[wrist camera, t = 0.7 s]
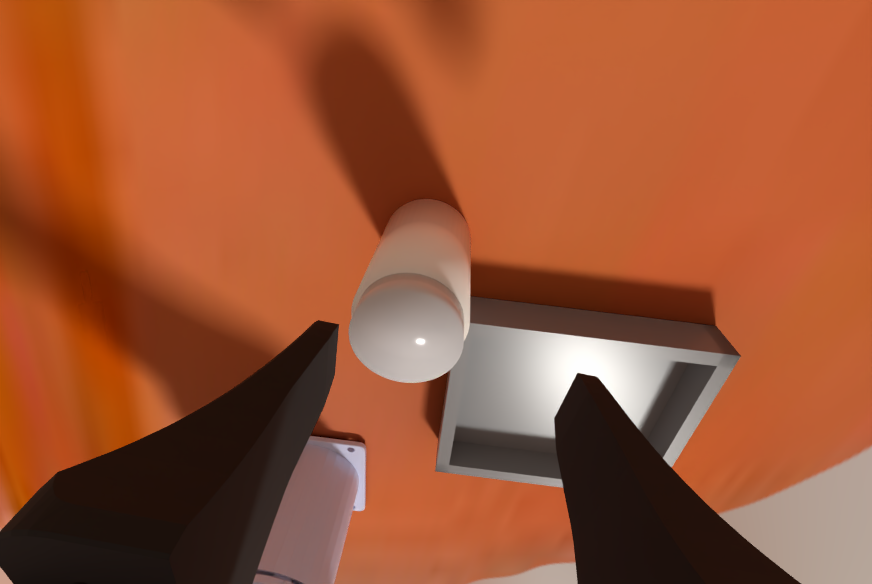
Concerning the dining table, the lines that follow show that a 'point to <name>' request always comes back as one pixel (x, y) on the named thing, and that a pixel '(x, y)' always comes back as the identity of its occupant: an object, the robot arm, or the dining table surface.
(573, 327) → the tray
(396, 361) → the shaker
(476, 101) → the dining table surface
